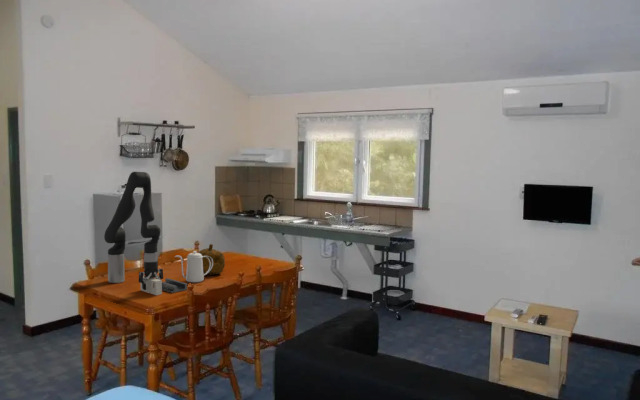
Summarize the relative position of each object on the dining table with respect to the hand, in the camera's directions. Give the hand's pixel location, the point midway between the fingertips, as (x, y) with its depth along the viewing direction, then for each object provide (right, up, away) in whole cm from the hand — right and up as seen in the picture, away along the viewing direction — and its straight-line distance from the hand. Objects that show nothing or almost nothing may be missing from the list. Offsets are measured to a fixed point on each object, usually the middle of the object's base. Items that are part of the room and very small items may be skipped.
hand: (151, 288), depth 296 cm
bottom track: (+8, -2, +10) cm, 13 cm away
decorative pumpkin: (+23, +1, +49) cm, 54 cm away
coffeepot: (+18, 0, +28) cm, 33 cm away
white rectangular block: (0, -2, 0) cm, 2 cm away
